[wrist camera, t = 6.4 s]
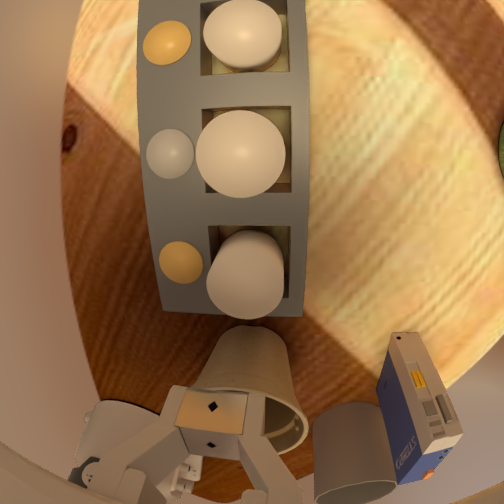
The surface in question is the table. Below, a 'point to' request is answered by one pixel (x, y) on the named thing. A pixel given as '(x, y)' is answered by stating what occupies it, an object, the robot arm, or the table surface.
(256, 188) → the button
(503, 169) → the ramekin
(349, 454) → the cup
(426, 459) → the walkman
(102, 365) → the table surface
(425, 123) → the table surface
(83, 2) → the table surface
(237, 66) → the button
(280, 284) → the button
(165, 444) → the robot arm
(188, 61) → the board
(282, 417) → the flower pot
